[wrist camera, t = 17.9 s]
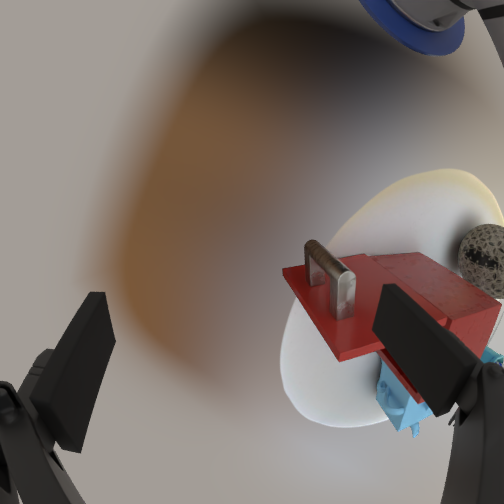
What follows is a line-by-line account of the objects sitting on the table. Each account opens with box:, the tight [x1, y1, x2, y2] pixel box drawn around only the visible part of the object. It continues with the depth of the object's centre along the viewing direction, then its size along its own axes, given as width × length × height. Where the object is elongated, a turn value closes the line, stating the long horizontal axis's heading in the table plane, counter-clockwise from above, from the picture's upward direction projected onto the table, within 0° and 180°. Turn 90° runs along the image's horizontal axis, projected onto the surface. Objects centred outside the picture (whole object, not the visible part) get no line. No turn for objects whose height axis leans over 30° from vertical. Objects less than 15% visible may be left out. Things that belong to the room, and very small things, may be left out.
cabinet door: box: [282, 240, 447, 362], centre depth 31 cm, size 6×12×18 cm, turn 96°
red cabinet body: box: [369, 252, 502, 404], centre depth 36 cm, size 10×12×18 cm
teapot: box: [376, 359, 433, 438], centre depth 46 cm, size 18×16×13 cm
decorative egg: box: [458, 224, 504, 299], centre depth 38 cm, size 12×12×15 cm
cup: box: [480, 346, 504, 368], centre depth 48 cm, size 14×8×15 cm, turn 102°
